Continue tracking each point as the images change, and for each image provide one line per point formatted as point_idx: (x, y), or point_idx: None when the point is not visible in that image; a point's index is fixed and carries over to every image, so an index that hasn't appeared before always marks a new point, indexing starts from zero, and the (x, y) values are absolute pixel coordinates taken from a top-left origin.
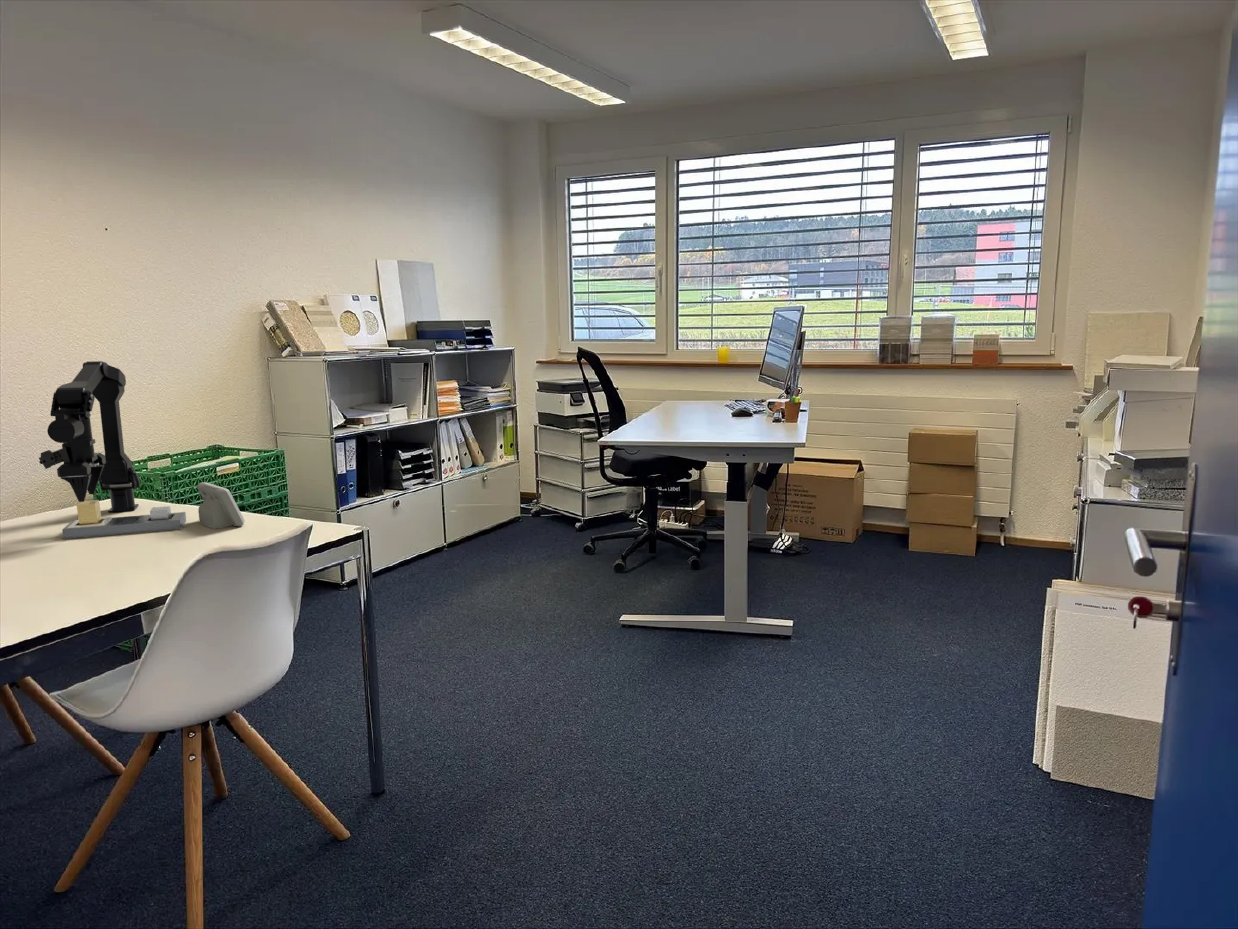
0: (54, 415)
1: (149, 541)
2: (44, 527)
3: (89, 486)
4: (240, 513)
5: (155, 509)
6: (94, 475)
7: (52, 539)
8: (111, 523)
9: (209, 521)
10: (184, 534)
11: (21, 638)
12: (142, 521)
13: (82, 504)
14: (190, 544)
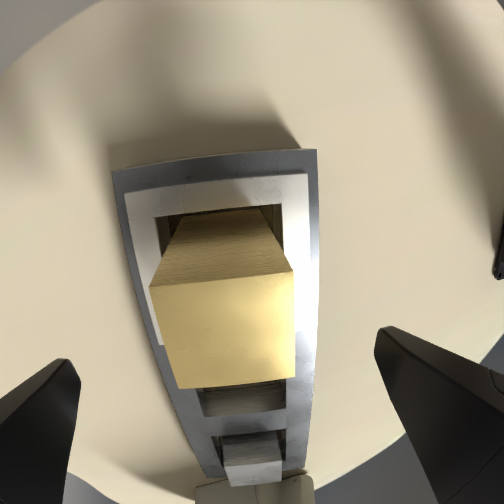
0: None
1: (93, 424)
2: (386, 22)
3: (411, 382)
4: None
5: (244, 471)
6: (454, 485)
7: (139, 115)
8: None
9: (209, 495)
10: (156, 464)
11: None
12: (206, 429)
13: (159, 324)
14: (84, 465)
